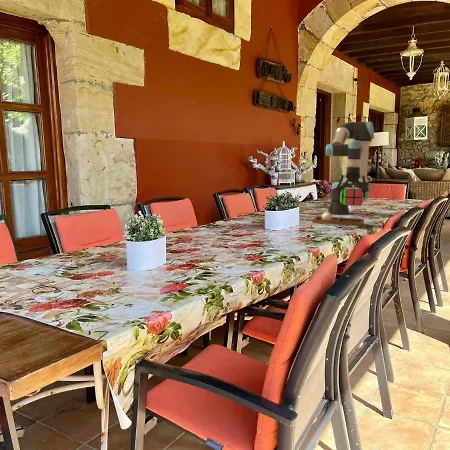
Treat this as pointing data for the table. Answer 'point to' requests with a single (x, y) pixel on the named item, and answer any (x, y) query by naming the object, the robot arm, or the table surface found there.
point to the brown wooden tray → (340, 221)
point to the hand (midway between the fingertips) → (351, 202)
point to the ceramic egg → (326, 216)
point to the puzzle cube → (352, 196)
